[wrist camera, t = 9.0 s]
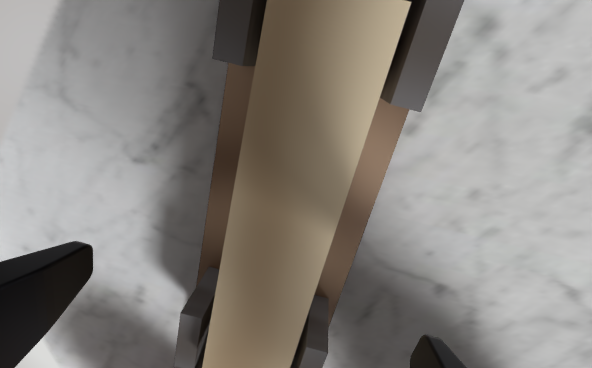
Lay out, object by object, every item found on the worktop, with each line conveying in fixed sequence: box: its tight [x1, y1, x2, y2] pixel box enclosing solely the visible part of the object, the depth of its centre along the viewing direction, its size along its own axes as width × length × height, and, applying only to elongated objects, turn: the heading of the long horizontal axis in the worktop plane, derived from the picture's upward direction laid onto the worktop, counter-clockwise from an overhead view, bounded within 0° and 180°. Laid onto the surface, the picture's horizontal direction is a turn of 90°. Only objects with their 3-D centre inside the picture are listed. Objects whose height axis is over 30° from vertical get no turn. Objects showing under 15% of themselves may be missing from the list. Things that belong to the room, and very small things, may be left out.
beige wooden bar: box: [202, 0, 411, 368], centre depth 13 cm, size 4×16×5 cm, turn 167°
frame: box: [174, 0, 464, 368], centre depth 14 cm, size 22×8×4 cm, turn 167°
